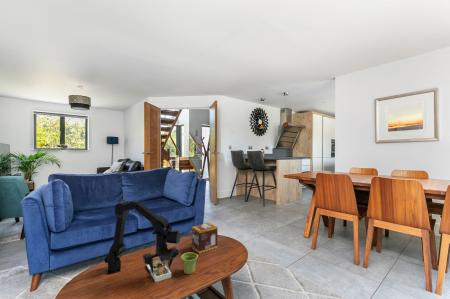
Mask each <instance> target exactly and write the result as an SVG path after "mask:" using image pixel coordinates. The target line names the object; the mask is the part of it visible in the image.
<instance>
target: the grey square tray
mask: <svg viewBox="0 0 450 299" xmlns="http://www.w3.org/2000/svg"><path fill="white" fill-rule="evenodd" d="M163 262H165V261H163ZM145 266H146V268H147V269H148V272H149V273H150V274H151V269H150V266H149V264H145ZM165 266H167V268H168V263H167V262H165ZM154 269H157V268H154V267H153V270H154ZM168 269H169V268H168Z"/></svg>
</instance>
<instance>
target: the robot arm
mask: <svg viewBox="0 0 450 299" xmlns="http://www.w3.org/2000/svg"><path fill="white" fill-rule="evenodd" d="M131 210H135V211H136V212H137V213H139V214H140V215H141V216H142V217H143V218H145V219H146V220H147V221H149V222H150V225H151V227H152V228H153V229H154V230H153V232H152V233H151V234H152V235H155V251H154V252H155V254H152V253H151V252H149V253H145V254H143V255H142V261H143V263H144V264H145V265H146V264H149V266H150V269H151V271H152V273H153V268H154V267H153V262H154V261H153V260H154V259H156V258H159V260H160V261H161V262H163V261H164V262H166V261H167V265H168V269H171V266H172V263H173V261H174V259H176V257H178V256H179V255H180V251H179V249H178V248H177V247H175V246H174V247H169V248H168V244H177V245H178V244H179V243H180V241H181V236H182V235H181V232H180V230H177V229H176V230H175V229H173V228H172V226H171V225H170V223H169V220H168V219H167V218H166V217H164V216H162V215H159V214H156V213H155V212H154V211H152V210H151V209H150V208H149V207H147V206H146V205H145V204H144V203H142V201H141V200H133V201H128V200H123V201H121V202H118V203H116V204H115V205H114V215H115V217H116V221H115V228H114V237H113V242H112V244H111V246H110V248H109V252H108V254H107V256H106V257H105V258H103V260H104V263H105V264H106V273H107V275H110V274H111V275H112V274H116V273H119V272H121V269H122V261H121V258H122V257H123V255H124V253H125V252H126V251H127V250H126V247H127V244H126V243H125V242H124V237H125V236H124V235H125V228H126V220H127V217H128V215H129V213H130V211H131ZM172 229H173V230H172Z"/></svg>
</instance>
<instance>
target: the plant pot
mask: <svg viewBox="0 0 450 299" xmlns="http://www.w3.org/2000/svg"><path fill="white" fill-rule="evenodd" d="M180 257H181V258H180V259H181V260H182V265H183V266H182V267H183V272H184V274H186V275H191V274H193V273H195V270H196V264H197V263H196V262H197V259H198V258H199V255H198V253H195V252H185V253H183V254H182V255H181V256H180Z"/></svg>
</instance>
